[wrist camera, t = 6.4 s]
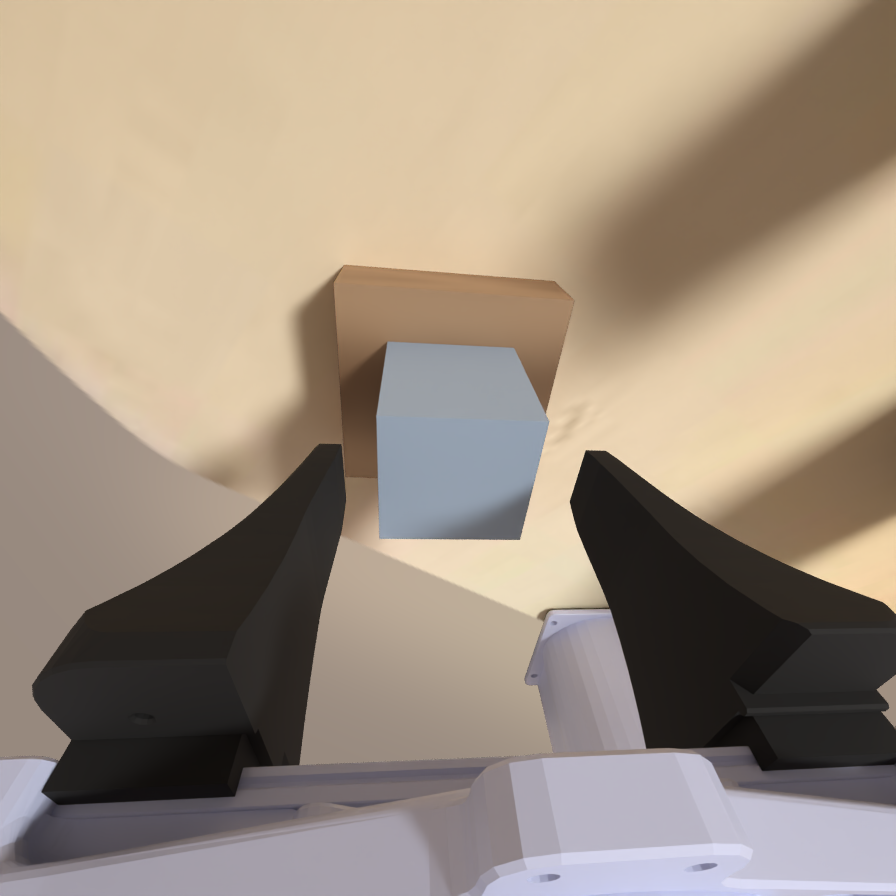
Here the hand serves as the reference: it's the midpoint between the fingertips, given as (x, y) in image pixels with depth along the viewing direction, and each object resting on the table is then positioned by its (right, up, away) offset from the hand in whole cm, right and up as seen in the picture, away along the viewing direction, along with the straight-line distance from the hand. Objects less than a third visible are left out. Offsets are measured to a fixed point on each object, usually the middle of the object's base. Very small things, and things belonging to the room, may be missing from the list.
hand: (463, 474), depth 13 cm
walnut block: (-1, +4, +6) cm, 8 cm away
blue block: (-1, +3, +4) cm, 5 cm away
